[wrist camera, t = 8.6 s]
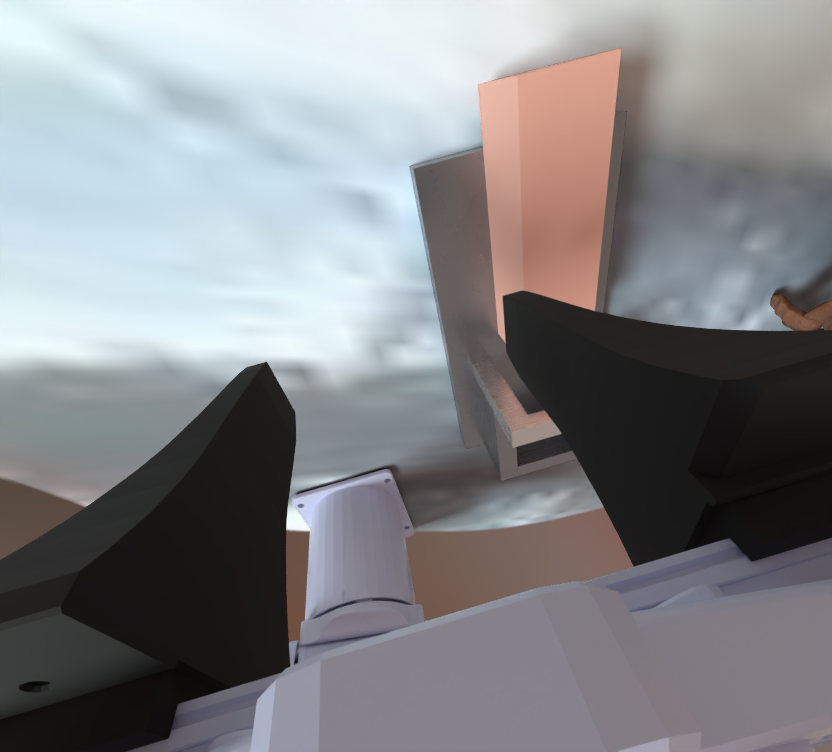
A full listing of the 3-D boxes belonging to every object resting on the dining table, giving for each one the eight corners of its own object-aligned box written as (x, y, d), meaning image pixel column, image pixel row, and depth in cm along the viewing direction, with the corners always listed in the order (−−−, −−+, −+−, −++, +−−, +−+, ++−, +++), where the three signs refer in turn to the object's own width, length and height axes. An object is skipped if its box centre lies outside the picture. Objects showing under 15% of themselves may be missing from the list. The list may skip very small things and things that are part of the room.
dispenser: (584, 404, 29) (647, 477, 23) (462, 439, 28) (495, 522, 23) (613, 111, 17) (754, 108, 11) (409, 166, 17) (448, 191, 11)
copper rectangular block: (553, 317, 22) (590, 351, 19) (498, 333, 22) (526, 370, 19) (559, 62, 15) (621, 47, 12) (477, 84, 15) (517, 75, 12)
